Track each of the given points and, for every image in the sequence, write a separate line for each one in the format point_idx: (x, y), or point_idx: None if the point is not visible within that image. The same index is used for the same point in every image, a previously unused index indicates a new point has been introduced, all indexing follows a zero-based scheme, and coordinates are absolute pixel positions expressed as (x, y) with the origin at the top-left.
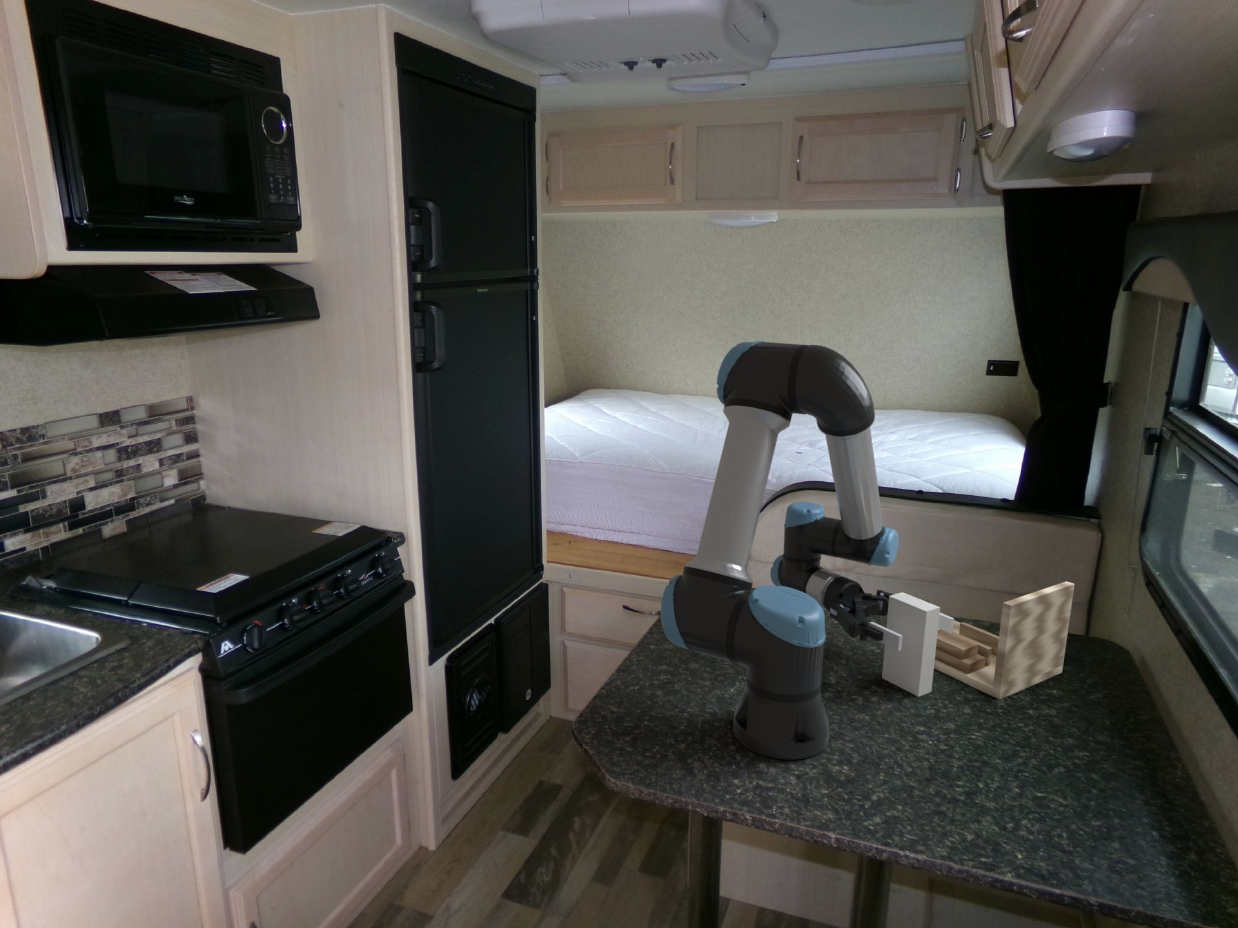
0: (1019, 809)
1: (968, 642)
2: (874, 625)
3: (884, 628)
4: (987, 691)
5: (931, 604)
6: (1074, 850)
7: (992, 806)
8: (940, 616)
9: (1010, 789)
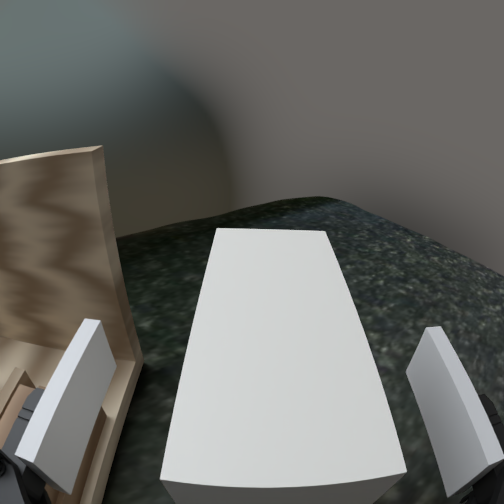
0: (369, 256)
1: (20, 405)
2: (492, 433)
3: (467, 391)
4: (136, 378)
5: (219, 252)
6: (363, 229)
7: (392, 265)
8: (81, 367)
9: (354, 269)
